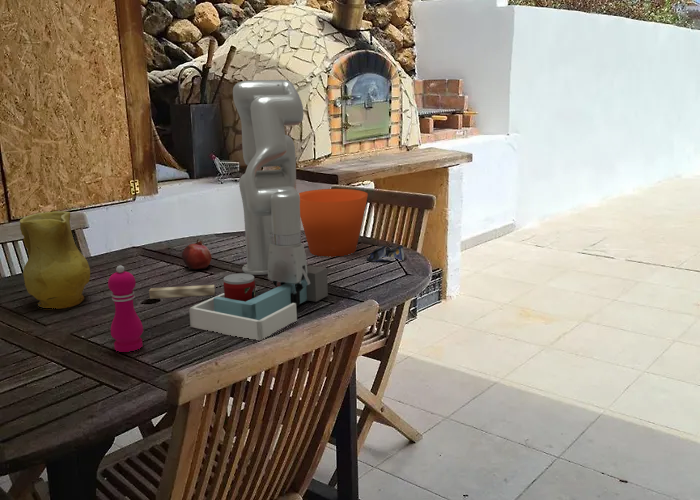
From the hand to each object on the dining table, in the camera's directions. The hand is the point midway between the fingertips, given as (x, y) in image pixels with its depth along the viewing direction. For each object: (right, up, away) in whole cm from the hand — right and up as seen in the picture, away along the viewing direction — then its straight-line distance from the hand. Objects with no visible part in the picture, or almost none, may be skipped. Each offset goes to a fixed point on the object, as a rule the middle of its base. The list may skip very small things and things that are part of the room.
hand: (289, 304), depth 188 cm
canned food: (-12, -3, -7) cm, 14 cm away
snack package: (+27, +11, +44) cm, 53 cm away
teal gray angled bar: (-4, -1, -1) cm, 4 cm away
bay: (-11, -4, -12) cm, 16 cm away
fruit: (-33, +9, +39) cm, 52 cm away
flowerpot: (+10, +14, +57) cm, 59 cm away
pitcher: (-65, 0, +9) cm, 66 cm away
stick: (-32, +1, +12) cm, 34 cm away
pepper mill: (-35, -8, -25) cm, 44 cm away
